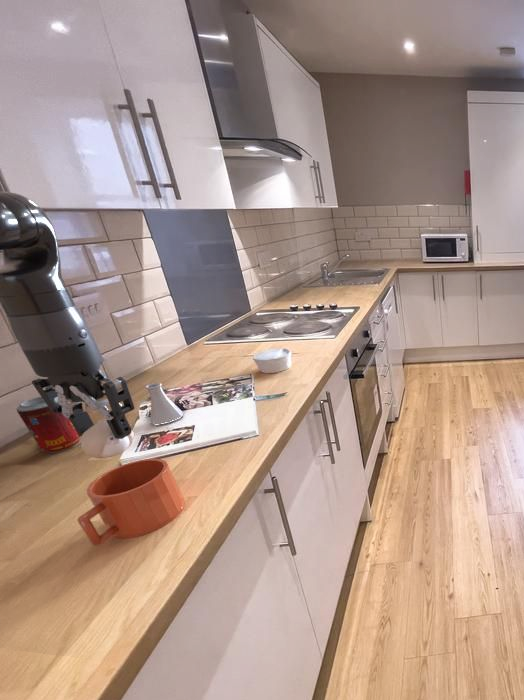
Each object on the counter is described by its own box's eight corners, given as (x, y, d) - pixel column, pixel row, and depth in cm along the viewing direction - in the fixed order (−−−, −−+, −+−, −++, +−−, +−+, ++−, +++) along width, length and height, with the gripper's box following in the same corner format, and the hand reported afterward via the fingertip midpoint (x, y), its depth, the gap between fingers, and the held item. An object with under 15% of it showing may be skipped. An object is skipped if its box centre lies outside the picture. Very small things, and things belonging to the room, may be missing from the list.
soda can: (41, 447, 97) (13, 401, 91) (82, 435, 102) (58, 390, 96) (43, 458, 92) (14, 411, 87) (85, 445, 97) (61, 399, 92)
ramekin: (299, 367, 139) (295, 353, 137) (263, 377, 132) (259, 362, 129) (287, 359, 146) (283, 345, 144) (252, 368, 139) (248, 354, 136)
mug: (149, 494, 81) (130, 457, 77) (199, 498, 80) (182, 460, 76) (70, 552, 68) (43, 510, 64) (128, 557, 67) (104, 515, 63)
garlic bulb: (141, 453, 69) (121, 412, 66) (90, 469, 65) (66, 426, 62) (137, 438, 74) (118, 399, 70) (89, 453, 70) (66, 412, 66)
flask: (153, 429, 103) (137, 394, 99) (148, 419, 108) (132, 385, 104) (187, 418, 108) (173, 384, 104) (181, 409, 113) (167, 376, 108)
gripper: (-17, 346, 58) (43, 445, 65) (72, 349, 57) (123, 450, 64) (44, 330, 65) (91, 421, 72) (124, 332, 63) (165, 425, 70)
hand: (106, 434), depth 68 cm, fingers closed on garlic bulb, 6 cm apart
